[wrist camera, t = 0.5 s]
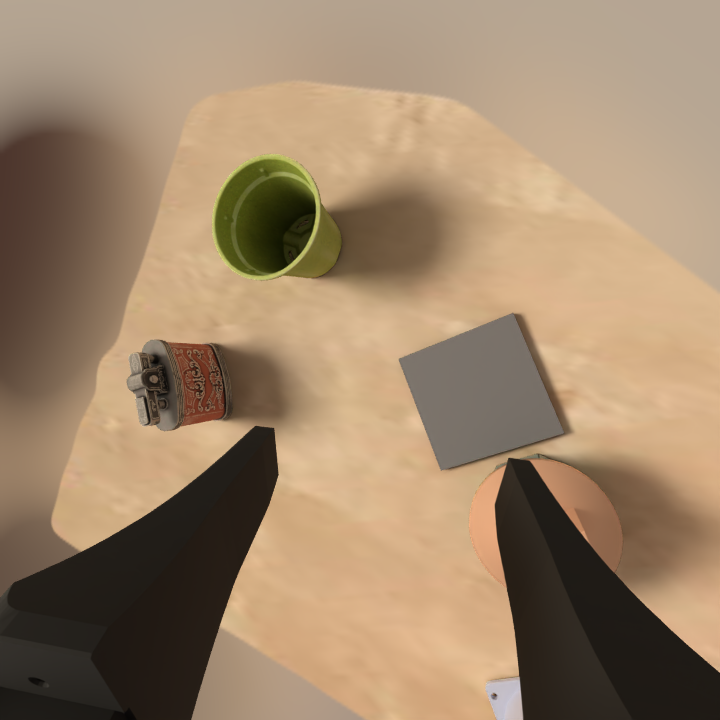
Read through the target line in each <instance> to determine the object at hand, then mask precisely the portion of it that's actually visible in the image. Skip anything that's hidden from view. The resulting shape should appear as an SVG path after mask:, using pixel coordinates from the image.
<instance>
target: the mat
mask: <svg viewBox="0 0 720 720" xmlns="http://www.w3.org/2000/svg"><path fill="white" fill-rule="evenodd" d="M399 362H400V364H401V367H402V370H403V372H404V375H405V377H406V380H407V383H408V385H409V388H410V391H411V393H412V396H413V398H414V401H415V404H416V406H417V409H418V412H419V414H420V417H421V419H422V422H423V425H424V427H425V430H426V432H427V435H428V438H429V440H430V443H431V446H432V448H433V451H434V453H435V456H436V459H437V461H438V464H439V467H440V469H441V470H445V469H448V468H451V467H455V466H458V465H461V464H465V463H468V462H471V461H474V460H478V459H481V458H484V457H488V456H491V455H494V454H498V453H501V452H504V451H508V450H511V449H514V448H517V447H521V446H524V445H527V444H531V443H534V442H537V441H541V440H544V439H547V438H551V437H554V436H557V435H560V434H564V431H563V429H562V427H561V424H560V422H559V420H558V417H557V415H556V412H555V410H554V408H553V405H552V403H551V401H550V398H549V396H548V394H547V391H546V389H545V387H544V384H543V382H542V379H541V377H540V375H539V372H538V370H537V368H536V365H535V363H534V361H533V358H532V356H531V354H530V351H529V349H528V347H527V344H526V342H525V339H524V337H523V335H522V332H521V330H520V328H519V325H518V323H517V321H516V318H515V316H514V314H513V313H512V314H509V315H507V316H504V317H502V318H499V319H497V320H494V321H492V322H489V323H487V324H484V325H482V326H479V327H477V328H474V329H472V330H469V331H467V332H465V333H462V334H460V335H457V336H455V337H452V338H450V339H447V340H445V341H442V342H440V343H437V344H435V345H432V346H430V347H427V348H425V349H422V350H420V351H417V352H415V353H412V354H410V355H407V356H405V357H403V358H400V359H399Z"/></svg>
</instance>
